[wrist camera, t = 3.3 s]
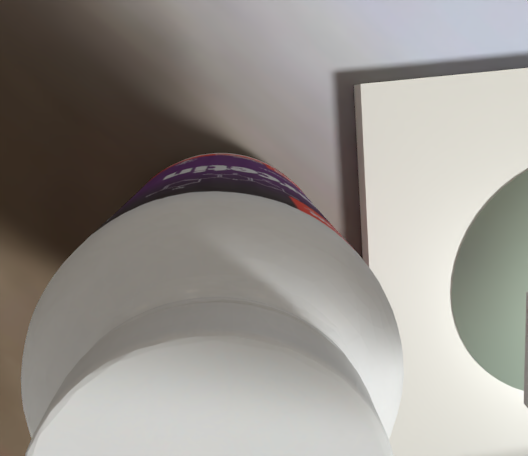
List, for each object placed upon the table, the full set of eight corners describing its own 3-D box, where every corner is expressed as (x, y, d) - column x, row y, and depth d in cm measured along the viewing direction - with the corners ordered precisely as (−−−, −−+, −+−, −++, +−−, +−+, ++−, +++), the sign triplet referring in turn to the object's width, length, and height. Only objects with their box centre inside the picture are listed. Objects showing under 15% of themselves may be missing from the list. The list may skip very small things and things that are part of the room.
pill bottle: (348, 198, 21) (590, 372, 7) (268, 360, 23) (340, 766, 9) (168, 116, 20) (38, 132, 6) (94, 293, 21) (-151, 645, 7)
